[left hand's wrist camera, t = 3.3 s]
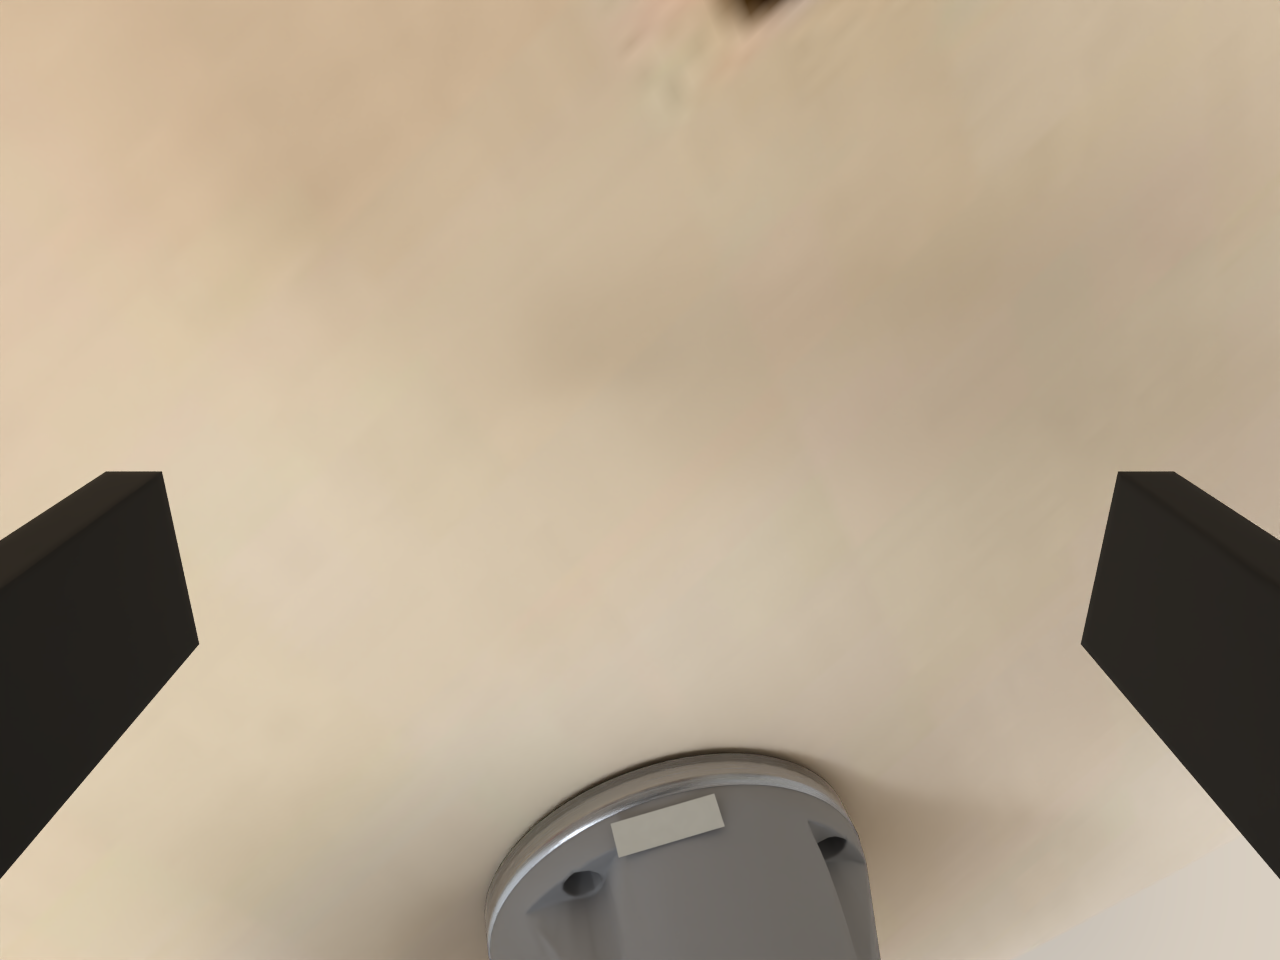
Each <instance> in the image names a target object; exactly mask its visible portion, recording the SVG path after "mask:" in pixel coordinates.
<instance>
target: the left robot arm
mask: <svg viewBox="0 0 1280 960" xmlns="http://www.w3.org/2000/svg"><path fill="white" fill-rule="evenodd" d="M198 645H199V641H198V636H197V632H196V627H195V623H194V618H193V613H192V609H191V604H190V599H189V595H188V590H187V586H186V581H185V576H184V572H183V567H182V562H181V558H180V553H179V549H178V544H177V539H176V535H175V530H174V525H173V521H172V516H171V512H170V507H169V502H168V498H167V493H166V488H165V484H164V479H163V475H162V472H105V473H103V474H102V475H100V476H99V477H97V478H95V479H94V480H92V481H91V482H89V483H88V484H86V485H85V486H83V487H82V488H80V489H79V490H77V491H75V492H74V493H72V494H71V495H69V496H68V497H66V498H65V499H63V500H62V501H60V502H59V503H57V504H56V505H54V506H52V507H51V508H49V509H48V510H46V511H45V512H43V513H42V514H40V515H39V516H37V517H36V518H34V519H33V520H31V521H29V522H28V523H26V524H25V525H23V526H22V527H20V528H19V529H17V530H16V531H14V532H13V533H11V534H10V535H8V536H6V537H5V538H3V539H2V540H0V879H1V877H2V876H3V875H4V874H5V873H6V872H7V870H8V869H9V868H10V867H11V866H12V864H13V863H14V862H15V861H16V860H17V859H18V857H19V856H20V855H21V854H22V853H23V851H24V850H25V849H26V848H27V847H28V846H29V844H30V843H31V842H32V841H33V840H34V838H35V837H36V836H37V835H38V834H39V833H40V831H41V830H42V829H43V828H44V827H45V825H46V824H47V823H48V822H49V821H50V820H51V818H52V817H53V816H54V815H55V814H56V812H57V811H58V810H59V809H60V808H61V807H62V805H63V804H64V803H65V802H66V801H67V799H68V798H69V797H70V796H71V795H72V794H73V792H74V791H75V790H76V789H77V788H78V787H79V785H80V784H81V783H82V782H83V781H84V779H85V778H86V777H87V776H88V775H89V774H90V772H91V771H92V770H93V769H94V768H95V766H96V765H97V764H98V763H99V762H100V761H101V759H102V758H103V757H104V756H105V755H106V753H107V752H108V751H109V750H110V749H111V748H112V746H113V745H114V744H115V743H116V742H117V740H118V739H119V738H120V737H121V736H122V735H123V733H124V732H125V731H126V730H127V729H128V727H129V726H130V725H131V724H132V723H133V722H134V720H135V719H136V718H137V717H138V716H139V714H140V713H141V712H142V711H143V710H144V709H145V707H146V706H147V705H148V704H149V703H150V702H151V700H152V699H153V698H154V697H155V696H156V694H157V693H158V692H159V691H160V690H161V689H162V687H163V686H164V685H165V684H166V683H167V681H168V680H169V679H170V678H171V677H172V676H173V674H174V673H175V672H176V671H177V670H178V668H179V667H180V666H181V665H182V664H183V663H184V661H185V660H186V659H187V658H188V657H189V655H190V654H191V653H192V652H193V651H194V650H195V648H196V647H197V646H198ZM1081 645H1082V646H1083V647H1084V648H1085V650H1086V651H1087V652H1088V653H1089V654H1090V655H1091V657H1092V658H1093V659H1094V660H1095V661H1096V663H1097V664H1098V665H1099V666H1100V667H1101V668H1102V670H1103V671H1104V672H1105V673H1106V674H1107V676H1108V677H1109V678H1110V679H1111V680H1112V681H1113V683H1114V684H1115V685H1116V686H1117V687H1118V689H1119V690H1120V691H1121V692H1122V693H1123V694H1124V696H1125V697H1126V698H1127V699H1128V700H1129V702H1130V703H1131V704H1132V705H1133V706H1134V707H1135V709H1136V710H1137V711H1138V712H1139V713H1140V714H1141V716H1142V717H1143V718H1144V719H1145V720H1146V722H1147V723H1148V724H1149V725H1150V726H1151V727H1152V729H1153V730H1154V731H1155V732H1156V733H1157V735H1158V736H1159V737H1160V738H1161V739H1162V740H1163V742H1164V743H1165V744H1166V745H1167V746H1168V748H1169V749H1170V750H1171V751H1172V752H1173V753H1174V755H1175V756H1176V757H1177V758H1178V759H1179V761H1180V762H1181V763H1182V764H1183V765H1184V766H1185V768H1186V769H1187V770H1188V771H1189V772H1190V774H1191V775H1192V776H1193V777H1194V778H1195V779H1196V781H1197V782H1198V783H1199V784H1200V785H1201V787H1202V788H1203V789H1204V790H1205V791H1206V792H1207V794H1208V795H1209V796H1210V797H1211V798H1212V799H1213V801H1214V802H1215V803H1216V804H1217V805H1218V807H1219V808H1220V809H1221V810H1222V811H1223V812H1224V814H1225V815H1226V816H1227V817H1228V818H1229V820H1230V821H1231V822H1232V823H1233V824H1234V825H1235V827H1236V828H1237V829H1238V830H1239V831H1240V833H1241V834H1242V835H1243V836H1244V837H1245V838H1246V840H1247V841H1248V842H1249V843H1250V844H1251V846H1252V847H1253V848H1254V849H1255V850H1256V851H1257V853H1258V854H1259V855H1260V856H1261V857H1262V858H1263V860H1264V861H1265V862H1266V863H1267V864H1268V866H1269V867H1270V868H1271V869H1272V870H1273V872H1274V873H1275V874H1276V875H1277V876H1278V877H1279V879H1280V540H1278V539H1277V538H1275V537H1274V536H1272V535H1270V534H1269V533H1267V532H1266V531H1264V530H1263V529H1261V528H1260V527H1258V526H1257V525H1255V524H1254V523H1252V522H1251V521H1249V520H1247V519H1246V518H1244V517H1243V516H1241V515H1240V514H1238V513H1237V512H1235V511H1234V510H1232V509H1231V508H1229V507H1228V506H1226V505H1224V504H1223V503H1221V502H1220V501H1218V500H1217V499H1215V498H1214V497H1212V496H1211V495H1209V494H1208V493H1206V492H1205V491H1203V490H1201V489H1200V488H1198V487H1197V486H1195V485H1194V484H1192V483H1191V482H1189V481H1188V480H1186V479H1185V478H1183V477H1181V476H1180V475H1178V474H1177V473H1175V472H1118V475H1117V479H1116V484H1115V488H1114V493H1113V498H1112V502H1111V507H1110V512H1109V516H1108V521H1107V525H1106V530H1105V535H1104V539H1103V544H1102V549H1101V553H1100V558H1099V562H1098V567H1097V572H1096V576H1095V581H1094V586H1093V590H1092V595H1091V599H1090V604H1089V609H1088V613H1087V618H1086V623H1085V627H1084V632H1083V636H1082V641H1081ZM485 925H486V935H487V946H488V955H489V960H880V953H879V946H878V939H877V932H876V925H875V919H874V912H873V905H872V898H871V891H870V884H869V878H868V871H867V864H866V860H865V856H864V853H863V850H862V847H861V843H860V840H859V836H858V833H857V831H856V829H855V827H854V825H853V823H852V821H851V819H850V817H849V815H848V814H847V812H846V810H845V808H844V806H843V804H842V802H841V800H840V798H839V796H838V795H837V793H836V792H835V791H834V789H833V788H832V787H831V786H830V785H829V784H828V783H827V782H826V781H825V780H824V779H822V778H821V777H820V776H818V775H817V774H815V773H814V772H812V771H810V770H808V769H806V768H804V767H803V766H800V765H797V764H795V763H792V762H790V761H786V760H782V759H778V758H775V757H769V756H763V755H755V754H743V753H721V754H707V755H698V756H691V757H684V758H679V759H674V760H670V761H665V762H661V763H657V764H654V765H650V766H646V767H643V768H640V769H637V770H634V771H631V772H628V773H625V774H623V775H620V776H618V777H616V778H613V779H611V780H608V781H606V782H604V783H602V784H600V785H598V786H596V787H594V788H591V789H589V790H587V791H585V792H584V793H582V794H580V795H578V796H577V797H575V798H573V799H572V800H570V801H568V802H567V803H565V804H564V805H562V806H561V807H559V808H558V809H556V810H555V811H553V812H552V813H550V814H549V815H548V816H547V817H545V818H544V819H543V820H541V821H540V822H539V823H538V824H537V825H535V826H534V827H533V828H532V829H531V830H530V831H529V832H528V833H527V834H526V835H524V837H523V838H522V839H521V840H520V841H519V842H518V843H517V844H516V845H515V846H514V847H513V848H512V850H511V851H510V852H509V854H508V855H507V856H506V858H505V859H504V860H503V862H502V864H501V865H500V867H499V869H498V870H497V872H496V874H495V876H494V878H493V880H492V882H491V885H490V887H489V891H488V894H487V898H486V904H485Z"/></svg>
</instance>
